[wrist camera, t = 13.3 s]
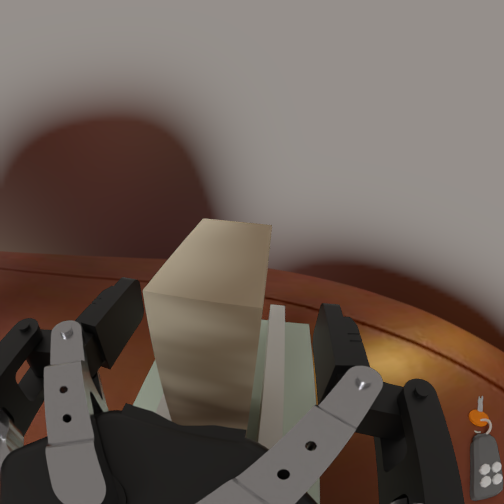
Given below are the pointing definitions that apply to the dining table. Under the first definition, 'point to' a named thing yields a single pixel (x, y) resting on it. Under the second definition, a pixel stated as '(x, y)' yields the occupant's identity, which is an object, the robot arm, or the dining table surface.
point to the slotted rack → (265, 383)
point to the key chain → (484, 459)
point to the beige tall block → (210, 322)
